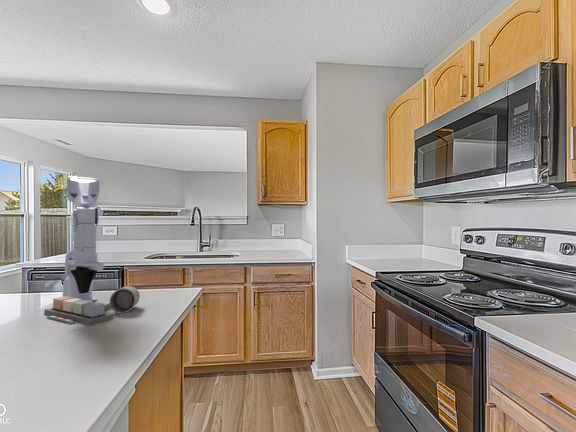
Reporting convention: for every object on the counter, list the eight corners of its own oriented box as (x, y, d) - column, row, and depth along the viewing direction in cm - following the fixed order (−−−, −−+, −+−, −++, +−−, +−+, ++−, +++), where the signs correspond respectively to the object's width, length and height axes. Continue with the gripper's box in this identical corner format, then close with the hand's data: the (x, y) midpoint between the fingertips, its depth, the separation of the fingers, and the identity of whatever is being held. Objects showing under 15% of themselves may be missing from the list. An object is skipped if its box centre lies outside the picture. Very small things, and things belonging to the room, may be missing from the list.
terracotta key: (53, 308, 105) (53, 298, 105) (65, 305, 108) (65, 296, 108) (60, 309, 103) (60, 300, 103) (73, 307, 106) (73, 297, 106)
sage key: (73, 312, 100) (73, 302, 100) (85, 309, 104) (85, 300, 104) (81, 314, 99) (81, 304, 99) (93, 311, 102) (93, 301, 102)
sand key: (62, 310, 102) (63, 300, 102) (75, 307, 106) (75, 298, 106) (70, 312, 101) (70, 302, 101) (83, 309, 104) (83, 299, 104)
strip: (46, 318, 100) (46, 315, 100) (50, 317, 101) (50, 314, 101) (71, 324, 95) (71, 321, 95) (74, 323, 95) (75, 320, 95)
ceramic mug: (140, 306, 115) (140, 283, 115) (135, 312, 107) (135, 288, 107) (106, 307, 113) (107, 284, 113) (98, 314, 105) (98, 289, 105)
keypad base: (44, 314, 104) (44, 309, 104) (67, 308, 110) (67, 304, 110) (90, 325, 94) (90, 320, 94) (112, 318, 100) (113, 313, 100)
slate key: (83, 315, 98) (83, 304, 98) (96, 312, 101) (96, 302, 101) (92, 317, 96) (92, 306, 96) (104, 313, 100) (104, 303, 100)
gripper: (56, 246, 101) (55, 292, 101) (87, 249, 94) (86, 298, 94) (79, 245, 107) (78, 288, 107) (110, 247, 101) (109, 293, 101)
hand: (83, 292), depth 101 cm, fingers closed
